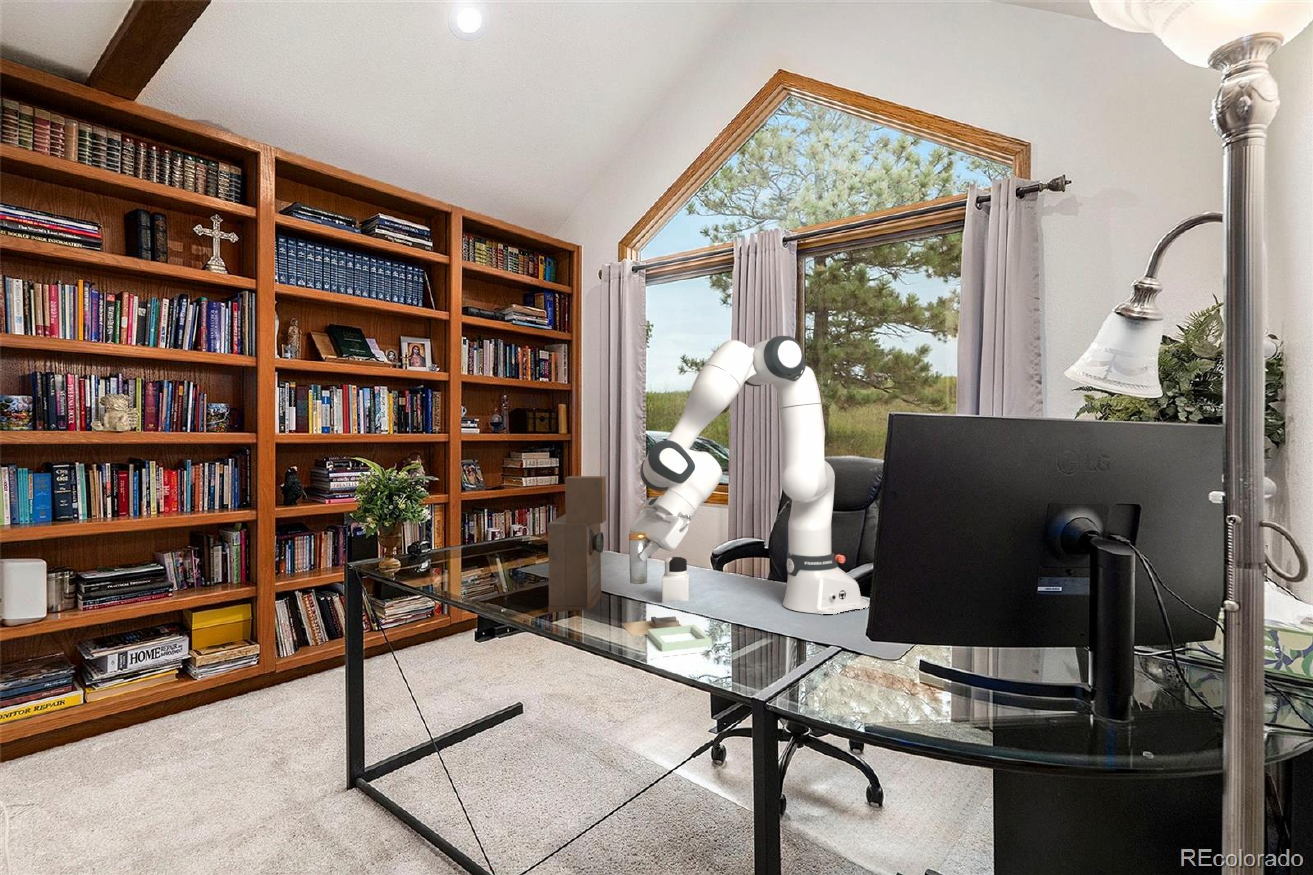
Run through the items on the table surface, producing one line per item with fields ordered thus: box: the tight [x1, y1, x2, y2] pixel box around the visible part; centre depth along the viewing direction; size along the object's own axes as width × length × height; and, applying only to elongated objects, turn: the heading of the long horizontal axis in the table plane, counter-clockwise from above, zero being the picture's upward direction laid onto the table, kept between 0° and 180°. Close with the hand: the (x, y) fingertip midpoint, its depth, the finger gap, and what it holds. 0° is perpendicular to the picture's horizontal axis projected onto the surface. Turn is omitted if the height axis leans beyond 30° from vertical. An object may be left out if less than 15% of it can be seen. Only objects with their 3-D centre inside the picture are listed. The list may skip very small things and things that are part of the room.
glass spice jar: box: [628, 532, 648, 585], centre depth 152 cm, size 4×4×11 cm
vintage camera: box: [547, 475, 607, 614], centre depth 178 cm, size 19×14×35 cm
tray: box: [647, 624, 713, 658], centre depth 143 cm, size 11×11×3 cm
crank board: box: [620, 615, 682, 637], centre depth 154 cm, size 13×10×3 cm
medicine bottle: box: [661, 556, 691, 604], centre depth 180 cm, size 7×7×12 cm
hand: (635, 556), depth 152 cm, fingers closed on glass spice jar, 4 cm apart
